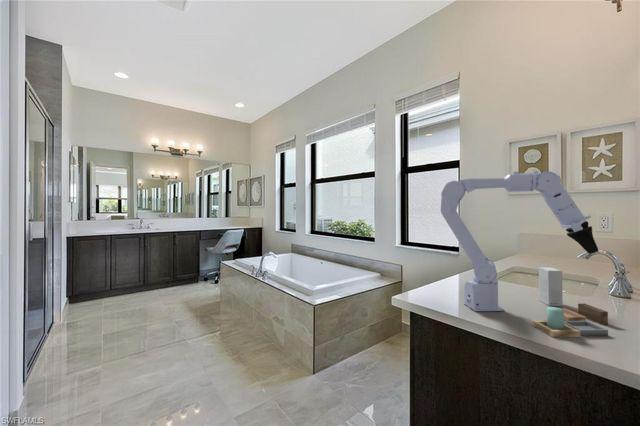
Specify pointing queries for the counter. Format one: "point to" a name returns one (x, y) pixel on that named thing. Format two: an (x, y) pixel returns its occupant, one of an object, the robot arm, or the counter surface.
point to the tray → (587, 328)
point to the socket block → (566, 332)
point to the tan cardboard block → (572, 316)
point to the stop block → (593, 313)
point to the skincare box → (550, 286)
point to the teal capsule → (555, 318)
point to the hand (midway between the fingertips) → (592, 249)
